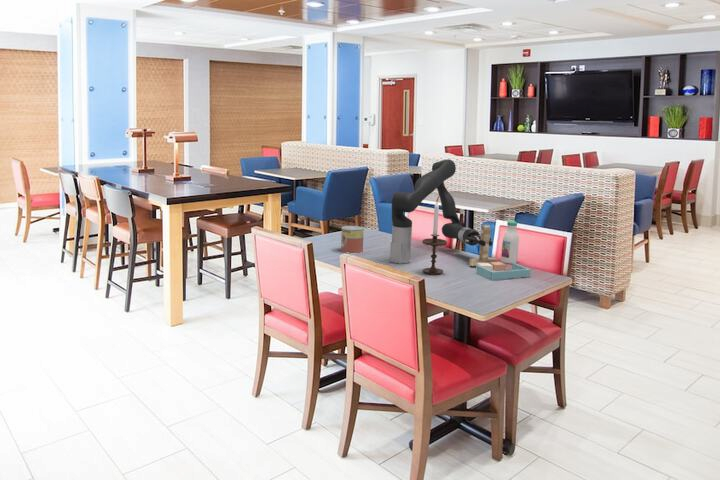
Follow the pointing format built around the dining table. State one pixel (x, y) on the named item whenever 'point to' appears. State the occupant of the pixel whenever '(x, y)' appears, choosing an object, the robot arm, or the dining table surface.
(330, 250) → the dining table surface
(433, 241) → the candlestick
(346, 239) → the canned food
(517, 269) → the box
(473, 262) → the wooden tower
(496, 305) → the dining table surface
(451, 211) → the robot arm
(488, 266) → the tile cream
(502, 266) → the tile terracotta
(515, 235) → the milk bottle
